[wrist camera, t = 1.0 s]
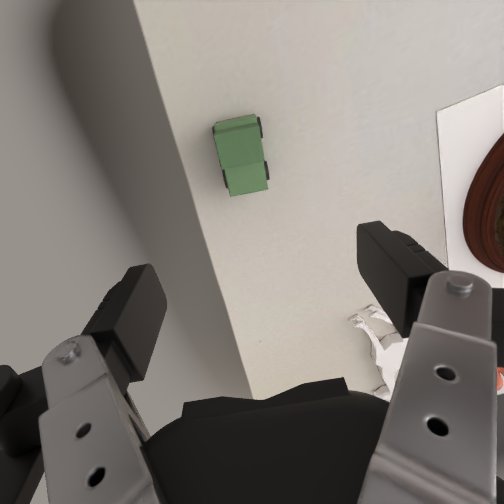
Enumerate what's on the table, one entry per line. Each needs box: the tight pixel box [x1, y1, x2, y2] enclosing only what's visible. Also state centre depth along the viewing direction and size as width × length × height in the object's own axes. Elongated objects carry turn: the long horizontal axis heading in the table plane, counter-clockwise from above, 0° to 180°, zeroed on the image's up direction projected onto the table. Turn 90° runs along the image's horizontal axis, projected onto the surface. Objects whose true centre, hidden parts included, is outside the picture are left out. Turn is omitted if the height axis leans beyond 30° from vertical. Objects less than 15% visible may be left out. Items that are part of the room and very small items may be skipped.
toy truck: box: [212, 114, 269, 196], centre depth 29 cm, size 7×5×6 cm
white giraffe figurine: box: [349, 305, 409, 400], centre depth 47 cm, size 2×13×20 cm
